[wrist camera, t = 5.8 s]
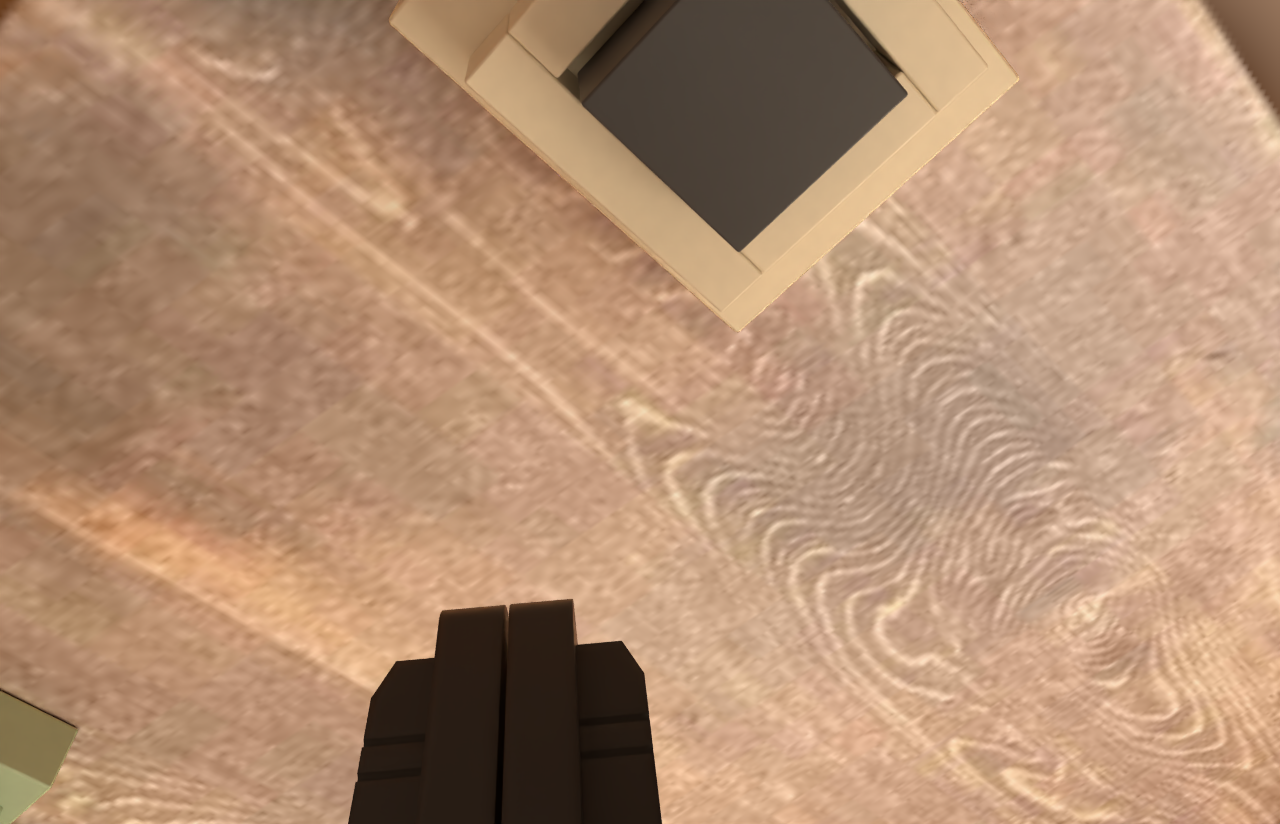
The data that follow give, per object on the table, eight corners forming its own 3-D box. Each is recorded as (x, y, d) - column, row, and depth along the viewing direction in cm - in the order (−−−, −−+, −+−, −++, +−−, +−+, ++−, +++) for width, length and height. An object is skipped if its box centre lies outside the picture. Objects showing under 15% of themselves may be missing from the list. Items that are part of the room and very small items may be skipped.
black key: (576, 73, 19) (579, 104, 17) (734, -100, 18) (756, -85, 16) (722, 213, 21) (739, 254, 19) (876, 65, 19) (910, 94, 18)
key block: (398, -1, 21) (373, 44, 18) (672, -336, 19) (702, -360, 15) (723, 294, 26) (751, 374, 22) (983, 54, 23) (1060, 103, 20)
